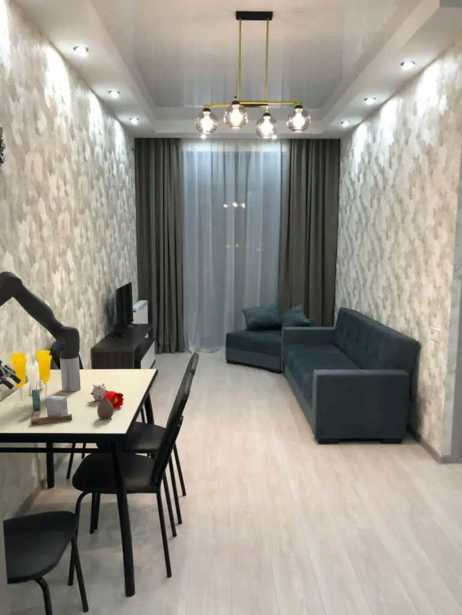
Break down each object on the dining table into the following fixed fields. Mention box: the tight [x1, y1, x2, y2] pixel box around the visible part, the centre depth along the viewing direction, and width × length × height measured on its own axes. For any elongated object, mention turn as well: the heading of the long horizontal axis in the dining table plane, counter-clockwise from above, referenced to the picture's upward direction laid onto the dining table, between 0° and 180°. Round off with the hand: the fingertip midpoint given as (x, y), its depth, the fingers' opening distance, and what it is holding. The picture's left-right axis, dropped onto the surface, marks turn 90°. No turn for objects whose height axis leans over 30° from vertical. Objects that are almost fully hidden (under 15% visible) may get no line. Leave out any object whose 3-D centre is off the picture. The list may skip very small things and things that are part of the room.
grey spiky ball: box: [90, 383, 109, 403], centre depth 242 cm, size 9×8×10 cm
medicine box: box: [45, 395, 69, 417], centre depth 221 cm, size 8×4×9 cm, turn 71°
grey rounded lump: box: [96, 398, 115, 421], centre depth 218 cm, size 7×7×9 cm
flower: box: [103, 390, 125, 410], centre depth 233 cm, size 8×8×8 cm
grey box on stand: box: [31, 388, 73, 426], centre depth 222 cm, size 18×17×10 cm
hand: (16, 385), depth 226 cm, fingers open, 8 cm apart
